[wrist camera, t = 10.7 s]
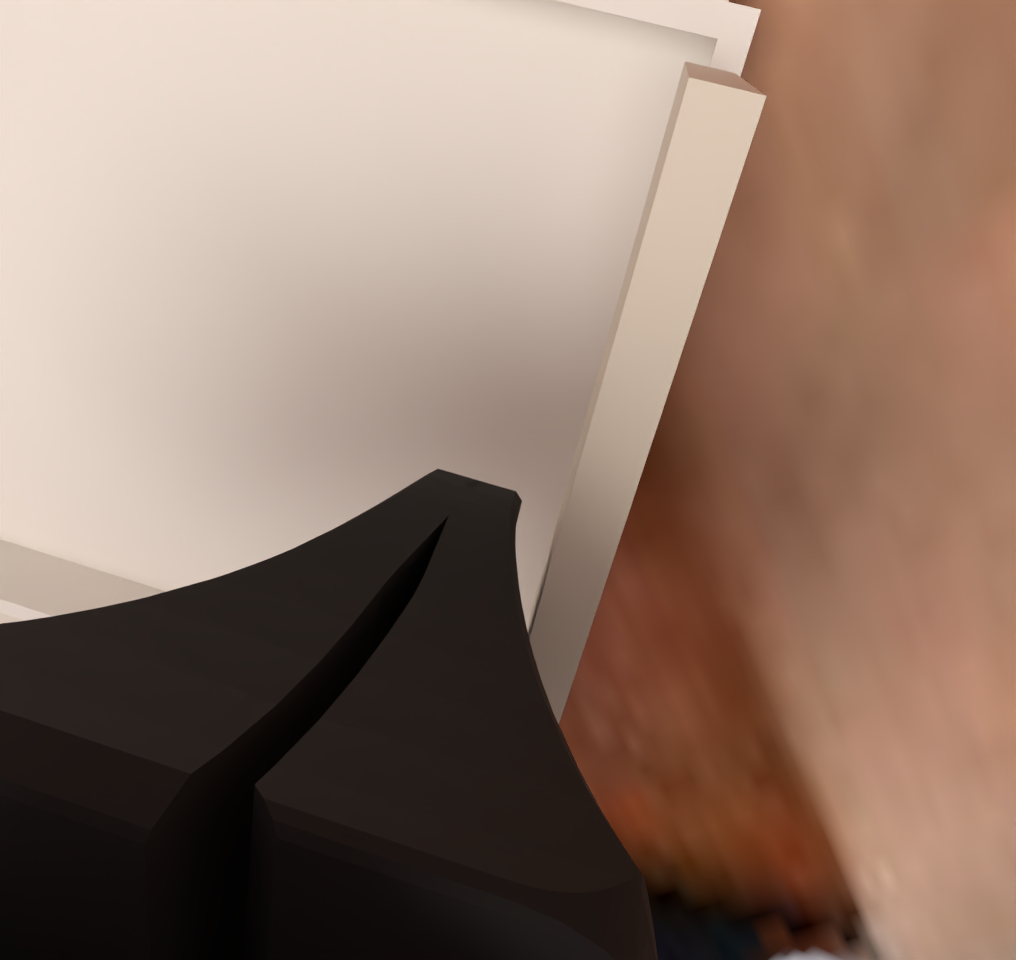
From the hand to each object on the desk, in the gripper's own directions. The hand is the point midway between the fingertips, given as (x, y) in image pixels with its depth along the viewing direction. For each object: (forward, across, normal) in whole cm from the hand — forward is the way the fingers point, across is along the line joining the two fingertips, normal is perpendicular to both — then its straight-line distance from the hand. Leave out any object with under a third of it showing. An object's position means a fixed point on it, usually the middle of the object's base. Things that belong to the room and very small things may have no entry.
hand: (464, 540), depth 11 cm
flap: (0, -1, 0) cm, 1 cm away
